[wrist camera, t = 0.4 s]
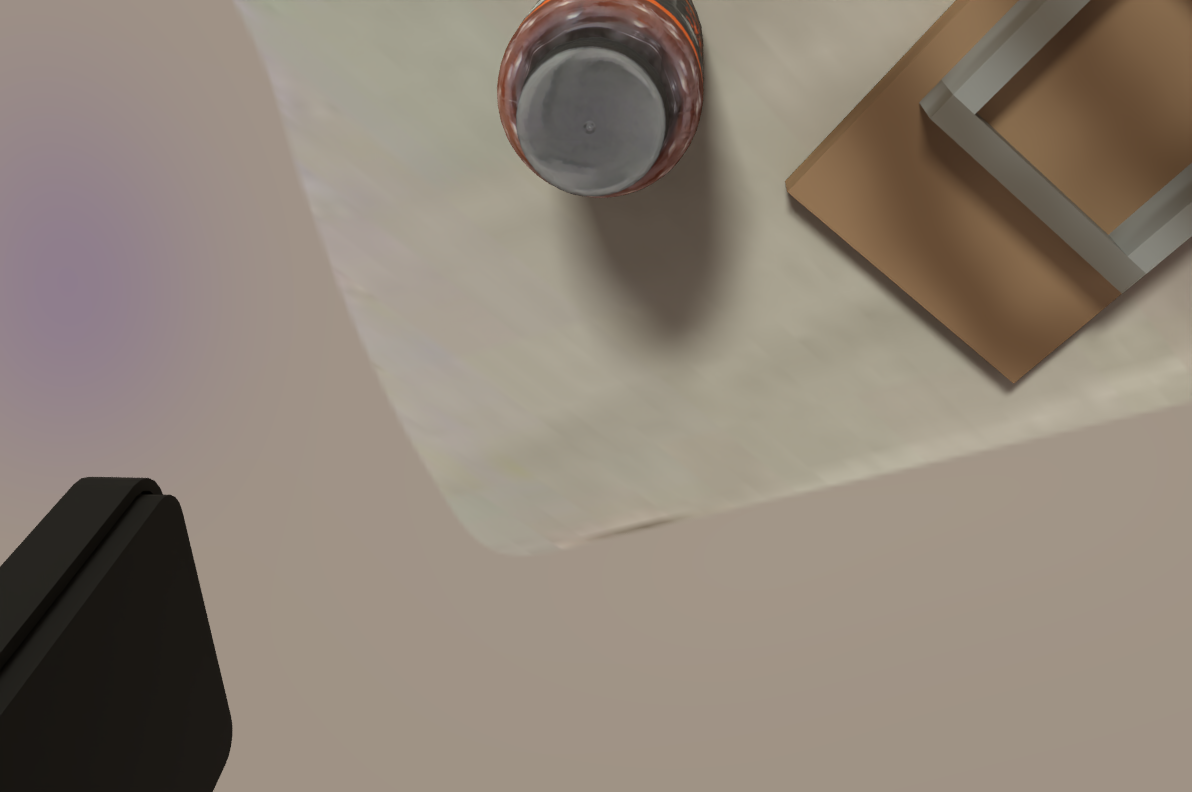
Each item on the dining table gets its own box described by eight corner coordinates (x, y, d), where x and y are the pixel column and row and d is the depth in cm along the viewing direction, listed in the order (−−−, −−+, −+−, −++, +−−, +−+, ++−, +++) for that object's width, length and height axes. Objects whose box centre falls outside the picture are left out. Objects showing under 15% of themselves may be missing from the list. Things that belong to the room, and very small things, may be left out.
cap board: (1266, -329, 31) (1320, -339, 29) (1500, -48, 34) (1570, -33, 32) (785, 181, 40) (791, 211, 37) (1006, 368, 43) (1027, 409, 40)
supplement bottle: (710, 113, 39) (713, 226, 29) (548, 132, 40) (499, 247, 30) (694, -64, 36) (693, -5, 26) (520, -40, 37) (456, 26, 27)
